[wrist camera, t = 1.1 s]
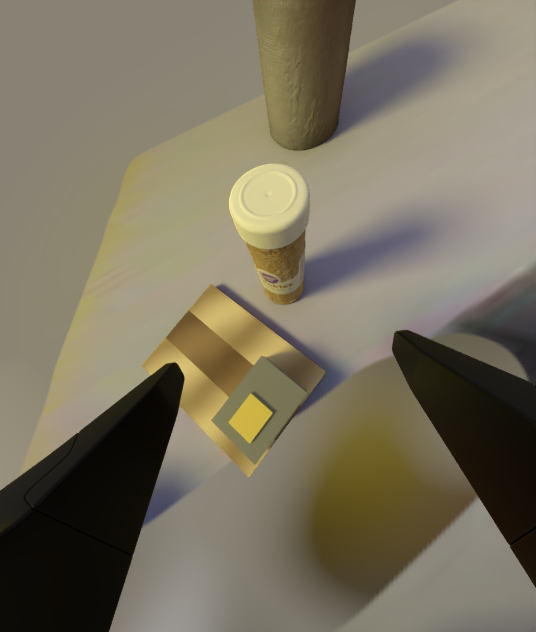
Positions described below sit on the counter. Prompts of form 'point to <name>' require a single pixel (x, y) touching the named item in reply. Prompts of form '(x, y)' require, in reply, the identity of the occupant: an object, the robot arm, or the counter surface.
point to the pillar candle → (303, 66)
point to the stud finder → (259, 408)
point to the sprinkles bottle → (274, 226)
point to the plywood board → (225, 362)
